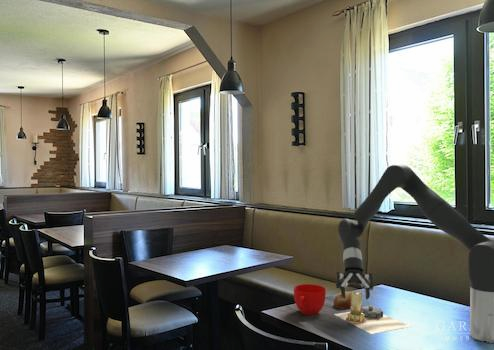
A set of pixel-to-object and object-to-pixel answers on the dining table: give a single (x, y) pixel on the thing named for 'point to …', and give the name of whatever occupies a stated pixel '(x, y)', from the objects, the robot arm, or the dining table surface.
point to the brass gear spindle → (356, 307)
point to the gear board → (374, 321)
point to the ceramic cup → (309, 298)
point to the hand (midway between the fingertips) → (355, 297)
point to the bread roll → (343, 301)
